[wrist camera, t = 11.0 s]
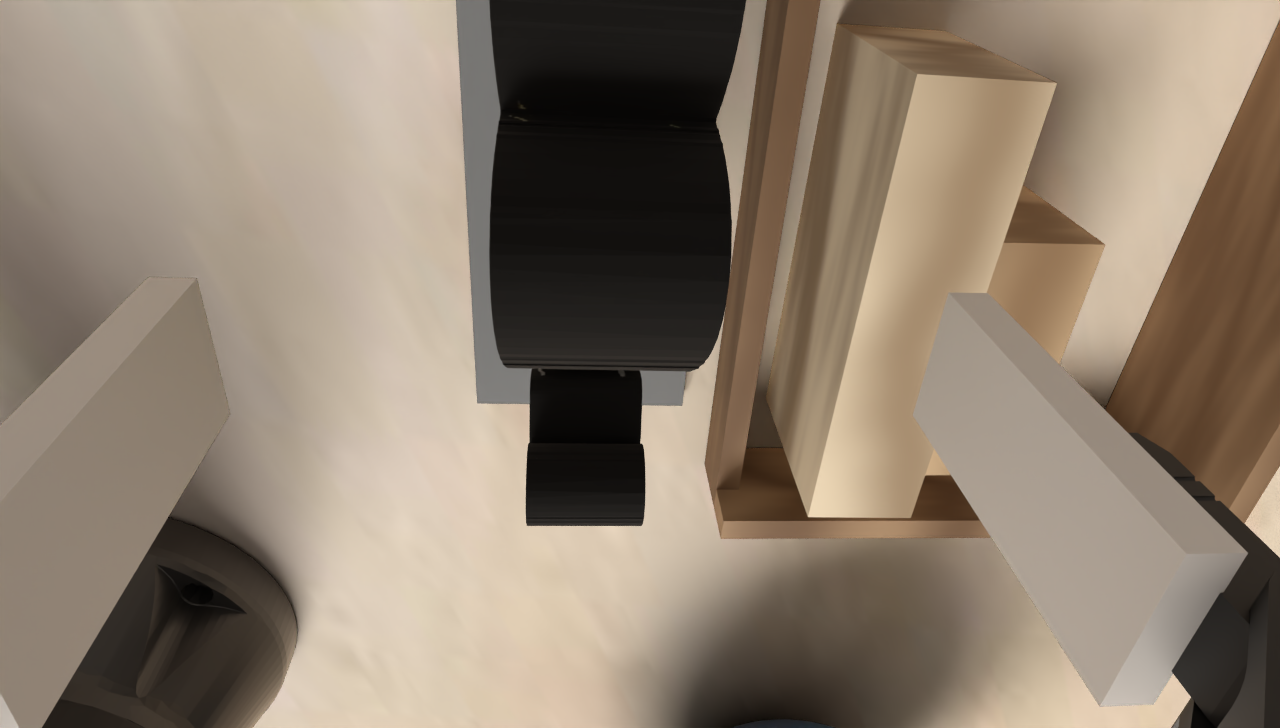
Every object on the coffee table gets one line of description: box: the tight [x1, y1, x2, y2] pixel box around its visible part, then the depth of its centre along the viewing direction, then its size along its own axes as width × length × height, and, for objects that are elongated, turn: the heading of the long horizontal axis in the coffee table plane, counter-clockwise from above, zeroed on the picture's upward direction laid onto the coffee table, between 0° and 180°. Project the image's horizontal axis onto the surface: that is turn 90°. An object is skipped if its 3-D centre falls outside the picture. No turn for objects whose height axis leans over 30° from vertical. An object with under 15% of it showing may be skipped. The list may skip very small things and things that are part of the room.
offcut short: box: [925, 185, 1105, 475], centre depth 32 cm, size 4×10×6 cm, turn 177°
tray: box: [705, 0, 1280, 539], centre depth 29 cm, size 20×27×8 cm
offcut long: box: [766, 23, 1057, 518], centre depth 30 cm, size 4×16×8 cm, turn 176°
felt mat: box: [456, 0, 686, 406], centre depth 29 cm, size 9×26×1 cm, turn 176°
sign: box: [489, 0, 746, 526], centre depth 20 cm, size 22×3×20 cm, turn 177°
